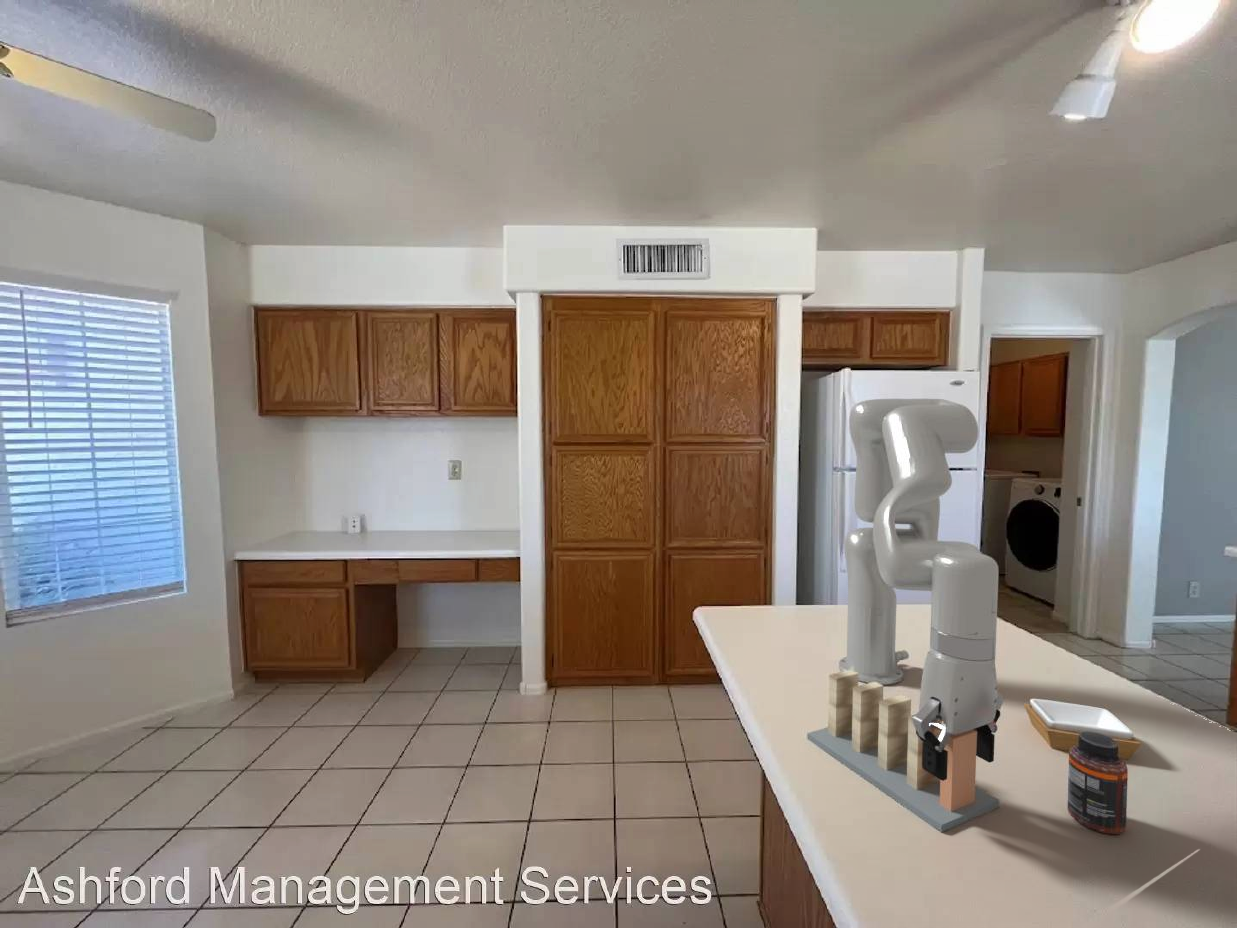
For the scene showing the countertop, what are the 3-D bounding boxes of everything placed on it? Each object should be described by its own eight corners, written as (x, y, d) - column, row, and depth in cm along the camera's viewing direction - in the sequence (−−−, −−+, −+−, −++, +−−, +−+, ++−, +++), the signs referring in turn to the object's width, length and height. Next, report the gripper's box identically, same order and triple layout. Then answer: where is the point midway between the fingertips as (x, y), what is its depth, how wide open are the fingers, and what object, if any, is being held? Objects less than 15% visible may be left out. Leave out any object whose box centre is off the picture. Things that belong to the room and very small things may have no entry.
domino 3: (900, 756, 86) (902, 694, 85) (909, 761, 84) (911, 699, 84) (877, 764, 84) (879, 700, 83) (886, 769, 82) (888, 705, 82)
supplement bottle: (1111, 811, 75) (1115, 731, 74) (1136, 841, 69) (1140, 755, 68) (1058, 801, 77) (1062, 723, 76) (1078, 830, 71) (1082, 746, 70)
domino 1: (849, 725, 95) (850, 669, 94) (857, 730, 93) (858, 673, 93) (828, 732, 93) (829, 674, 92) (835, 736, 91) (836, 678, 91)
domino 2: (873, 740, 90) (875, 681, 90) (881, 745, 89) (883, 685, 88) (851, 747, 88) (853, 687, 88) (859, 752, 87) (861, 691, 86)
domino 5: (963, 794, 77) (965, 725, 76) (974, 801, 75) (977, 730, 75) (939, 804, 74) (941, 733, 74) (950, 811, 73) (953, 739, 73)
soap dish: (1046, 752, 89) (1047, 722, 89) (1022, 722, 98) (1023, 695, 98) (1140, 766, 85) (1142, 735, 85) (1106, 734, 95) (1107, 705, 94)
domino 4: (929, 774, 81) (931, 709, 81) (939, 780, 80) (942, 714, 79) (906, 782, 79) (908, 716, 79) (916, 789, 78) (918, 721, 77)
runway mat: (858, 723, 97) (858, 718, 97) (998, 806, 75) (999, 799, 75) (807, 738, 92) (807, 733, 92) (941, 832, 71) (941, 824, 71)
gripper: (975, 625, 81) (971, 737, 81) (893, 643, 74) (890, 765, 74) (1030, 643, 74) (1025, 765, 75) (946, 664, 67) (942, 799, 68)
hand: (958, 765), depth 75 cm, fingers open, 9 cm apart
